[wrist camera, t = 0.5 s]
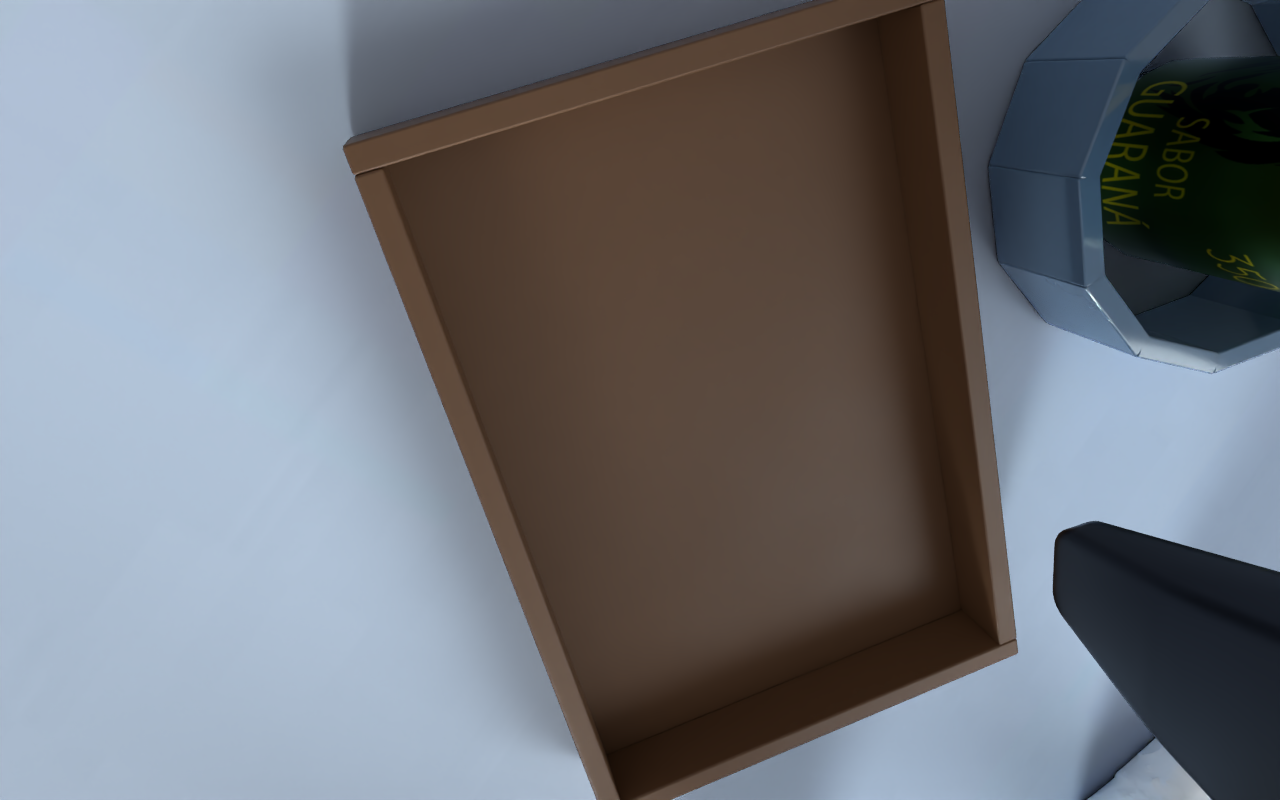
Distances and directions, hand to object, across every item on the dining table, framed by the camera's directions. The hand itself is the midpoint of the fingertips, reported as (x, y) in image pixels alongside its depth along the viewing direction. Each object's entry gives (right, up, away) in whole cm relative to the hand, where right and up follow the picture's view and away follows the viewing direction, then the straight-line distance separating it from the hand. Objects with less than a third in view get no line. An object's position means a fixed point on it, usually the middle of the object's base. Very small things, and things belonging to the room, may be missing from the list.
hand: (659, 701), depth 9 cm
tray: (+2, +3, +16) cm, 16 cm away
